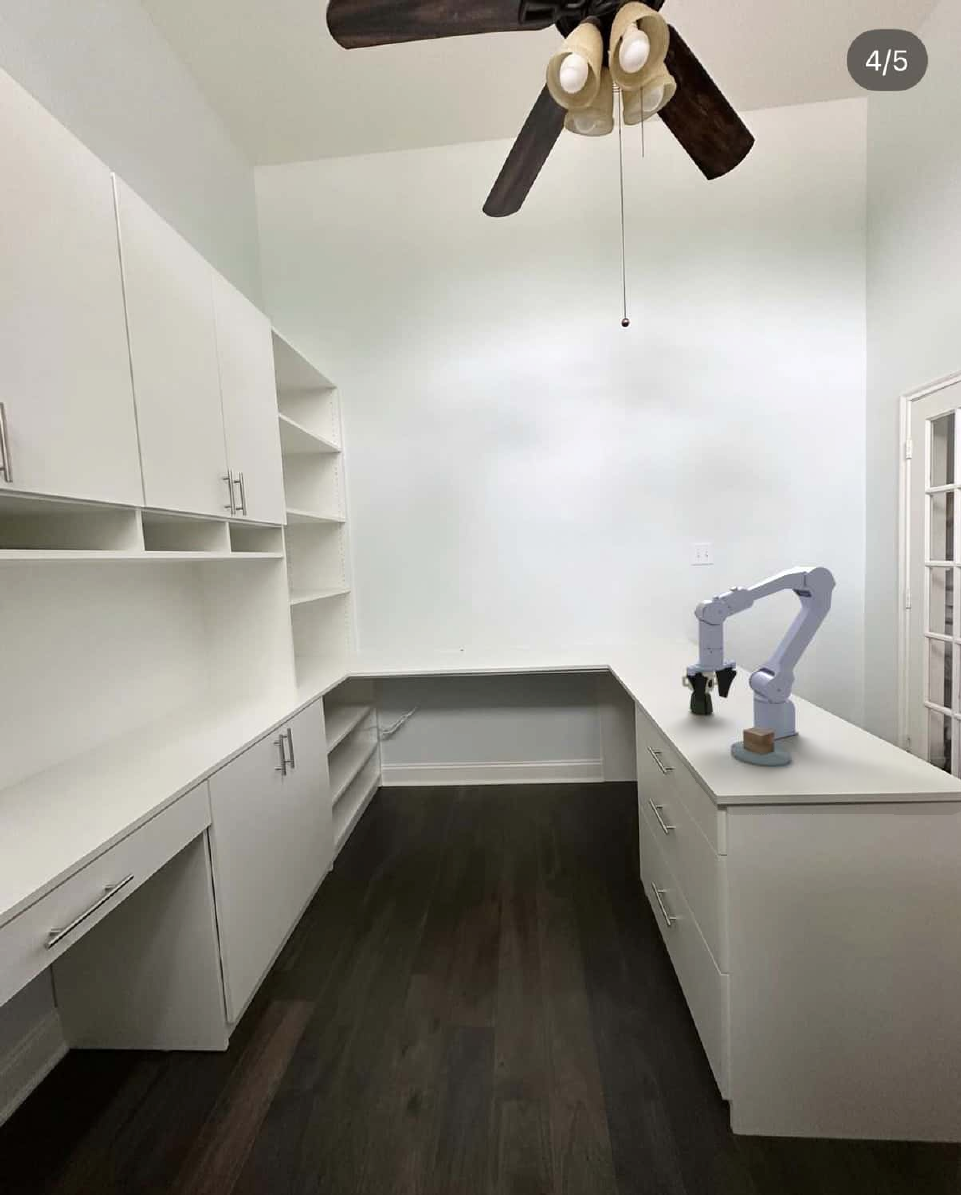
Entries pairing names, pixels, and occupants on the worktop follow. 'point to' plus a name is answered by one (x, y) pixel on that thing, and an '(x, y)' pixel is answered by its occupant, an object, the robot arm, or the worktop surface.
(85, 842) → the worktop surface
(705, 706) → the character mug
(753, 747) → the walnut block
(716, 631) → the robot arm
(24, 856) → the worktop surface
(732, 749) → the slate dish
